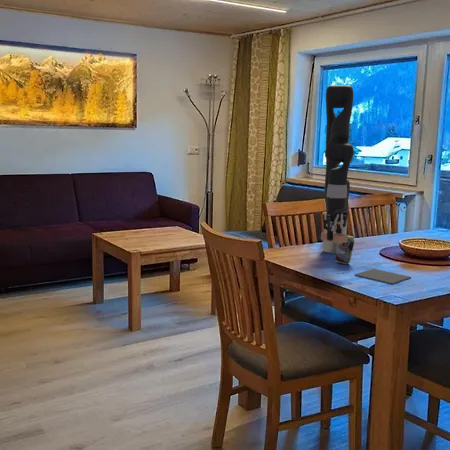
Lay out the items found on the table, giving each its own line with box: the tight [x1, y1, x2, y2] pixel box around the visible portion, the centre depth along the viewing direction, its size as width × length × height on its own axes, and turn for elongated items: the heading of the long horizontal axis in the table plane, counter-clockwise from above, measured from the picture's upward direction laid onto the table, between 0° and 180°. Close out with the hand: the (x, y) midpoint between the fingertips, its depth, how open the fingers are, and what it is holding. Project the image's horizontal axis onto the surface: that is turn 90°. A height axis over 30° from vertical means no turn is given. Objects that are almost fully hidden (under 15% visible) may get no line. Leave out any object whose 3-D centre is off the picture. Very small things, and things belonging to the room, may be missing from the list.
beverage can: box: [335, 234, 355, 265], centre depth 239 cm, size 6×7×12 cm
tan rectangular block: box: [320, 231, 348, 244], centre depth 223 cm, size 9×5×3 cm, turn 41°
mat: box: [354, 268, 412, 285], centre depth 219 cm, size 16×14×1 cm
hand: (334, 239), depth 223 cm, fingers closed on tan rectangular block, 5 cm apart
